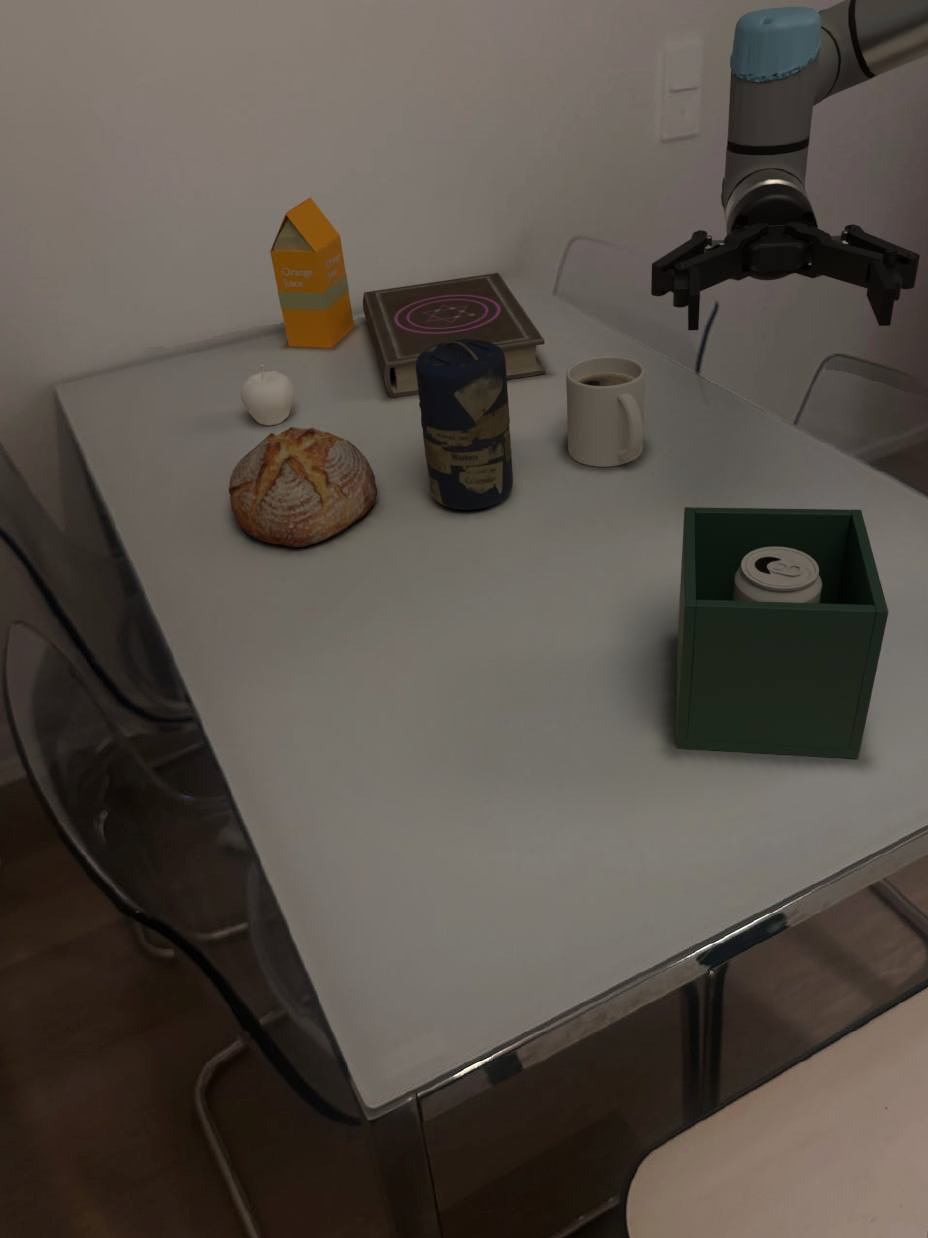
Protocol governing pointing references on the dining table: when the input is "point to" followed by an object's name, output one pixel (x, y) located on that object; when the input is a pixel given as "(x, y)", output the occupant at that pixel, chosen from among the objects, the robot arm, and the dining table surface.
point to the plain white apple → (268, 396)
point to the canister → (465, 422)
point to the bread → (301, 487)
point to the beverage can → (777, 577)
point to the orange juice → (311, 279)
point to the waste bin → (777, 636)
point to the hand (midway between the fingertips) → (789, 310)
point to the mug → (605, 410)
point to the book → (448, 326)
